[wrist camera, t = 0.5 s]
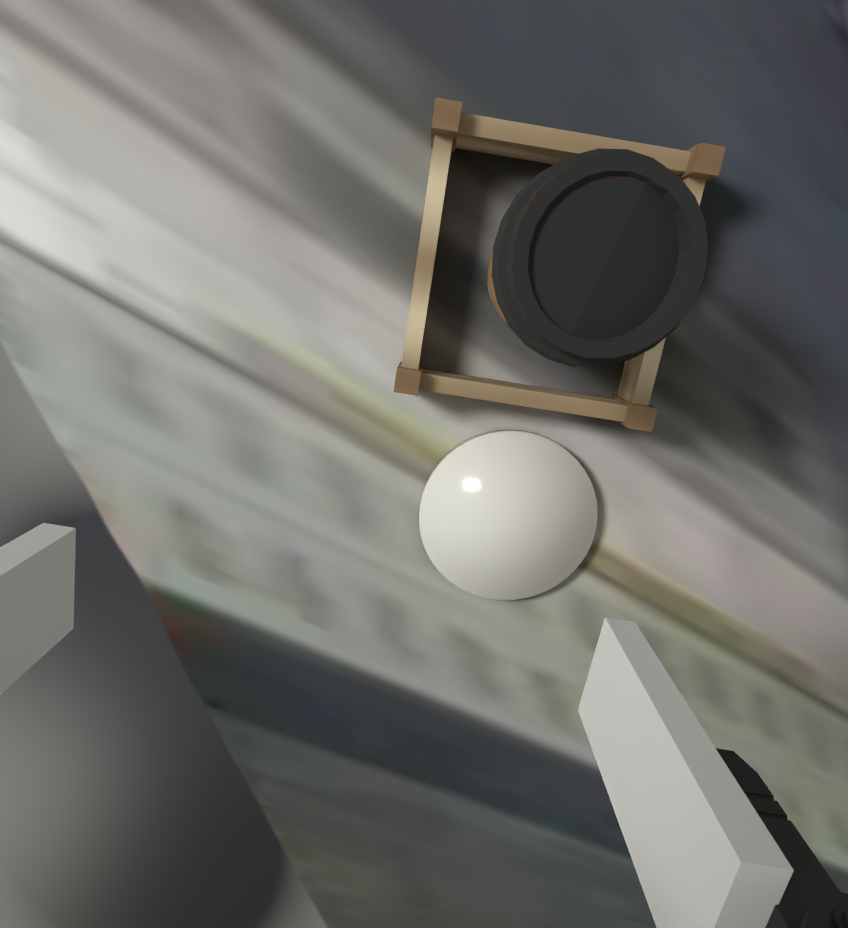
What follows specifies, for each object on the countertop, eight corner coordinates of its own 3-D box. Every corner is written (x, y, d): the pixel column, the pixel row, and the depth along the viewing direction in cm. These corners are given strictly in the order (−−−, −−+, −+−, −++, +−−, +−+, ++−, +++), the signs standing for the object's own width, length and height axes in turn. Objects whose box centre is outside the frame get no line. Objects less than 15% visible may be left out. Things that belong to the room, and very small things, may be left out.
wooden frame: (434, 121, 34) (435, 97, 30) (693, 165, 35) (726, 147, 31) (397, 383, 38) (393, 391, 34) (629, 419, 38) (651, 432, 35)
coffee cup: (630, 243, 36) (767, 198, 21) (566, 369, 38) (652, 406, 23) (507, 182, 35) (561, 92, 20) (448, 314, 37) (460, 318, 22)
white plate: (434, 416, 39) (434, 419, 38) (612, 444, 39) (616, 447, 38) (407, 581, 42) (407, 586, 41) (573, 605, 42) (576, 611, 41)
